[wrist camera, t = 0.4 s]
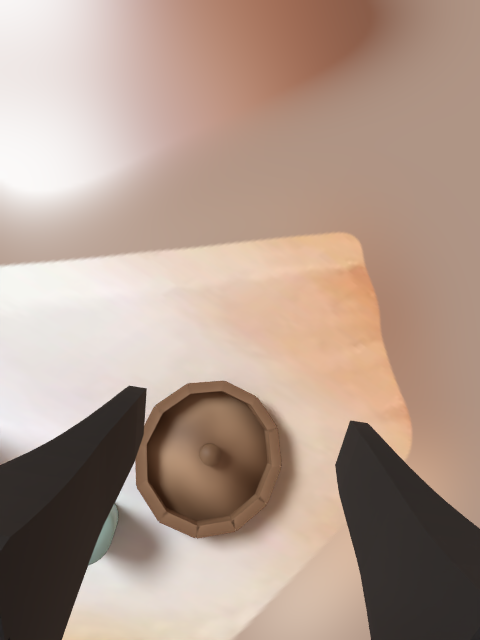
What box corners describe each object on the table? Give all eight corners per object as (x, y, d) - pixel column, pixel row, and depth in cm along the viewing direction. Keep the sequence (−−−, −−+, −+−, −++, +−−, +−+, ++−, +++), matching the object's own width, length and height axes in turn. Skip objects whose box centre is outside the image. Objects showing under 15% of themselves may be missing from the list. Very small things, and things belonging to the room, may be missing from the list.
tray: (239, 550, 36) (245, 560, 34) (109, 492, 34) (106, 498, 32) (291, 417, 40) (300, 418, 38) (177, 361, 39) (179, 358, 36)
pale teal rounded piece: (104, 550, 33) (95, 574, 29) (64, 532, 33) (48, 554, 28) (126, 506, 35) (121, 522, 30) (87, 488, 34) (76, 502, 29)
